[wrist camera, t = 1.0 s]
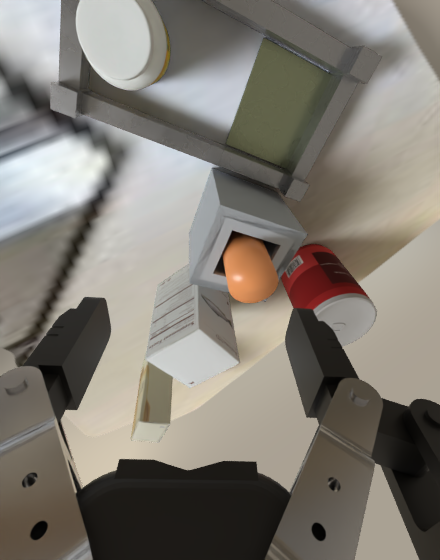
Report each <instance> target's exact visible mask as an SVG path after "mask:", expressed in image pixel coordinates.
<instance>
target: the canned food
mask: <svg viewBox="0 0 440 560" xmlns="http://www.w3.org/2000/svg"><path fill="white" fill-rule="evenodd" d="M281 279H282V282H283V285H284V287H285V289H286V292H287V294H288V296H289V299H290V301H291V303H292V306H293V308H305V309H312V310H313V311H314V313H315V315H316V317H317V319H318V321H324V322H325V323H326V324H328V325H329V326H330V327H331V328H332V329H333V331H334V332H335V334H336V336H337V338H338V341H339V342H340V344H341V346H345V345H347V344H350V343H352V342H354V341H356V340H357V339H359V338H360V337H362V336H363V335H364V334H365V333H367V332H368V331H369V329H370V328H371V327H372V326H373V324H374V322H375V319H376V315H377V311H376V308H375V306H374V304H373V302H372V301H371V300H370V298H369V297H368V296H367V294H366V293H365V292H364V290H363V289H362V288H361V287H360V285H359V284H358V283H357V282H356V280H355V279H354V278H353V277H352V275H351V274H350V273H349V272H348V270H347V269H346V268H345V267H344V265H343V264H342V263H341V262H340V260H339V259H338V258H337V257H336V255H335V254H334V253H333V252H332V251H331V250H330V249H328V248H326V247H324V246H322V245H317V244H310V245H305V246H303V247H300V248H299V249H298V251H297V252H296V254H295V255H294V257H293V259H292V260H291V262H290V263H289V265H288V267H287V268H286V270H285V271H284V273H283V275H282V276H281Z"/></svg>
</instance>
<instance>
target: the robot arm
mask: <svg viewBox="0 0 440 560" xmlns="http://www.w3.org/2000/svg"><path fill="white" fill-rule="evenodd" d="M110 334H111V324H110V319H109V313H108V308H107V303H106V300H105V298H95V297H85V298H83V300H82V301H81V303H80V304H79V306H78V307H77V308H76V309H69V310H68V311H66V312H65V313H64V314H62V315H61V316H59V318H58V319H57V320H56V322H55V323H54V324H53V326H52V328H50V330H49V331H48V332H47V334H46V336H44V338H43V339H42V341H41V342H40V343H39V345H38V346H37V347H36V349H35V350H34V351H33V353H32V354H31V355H30V357H29V358H28V359H27V361H26V362H25V363H24V365H23V366H22V367H18V368H15V369H12V370H10V371H8V372H6V373H4V374H3V375H1V376H0V560H354V559H355V555H356V550H357V546H358V541H359V536H360V532H361V527H362V523H363V518H364V514H365V509H366V504H367V500H368V495H369V490H370V486H371V482H372V477H373V472H374V467H375V463H376V464H379V465H381V467H382V470H383V472H384V475H385V477H386V479H387V482H388V484H389V487H390V489H391V492H392V494H393V496H394V499H395V501H396V504H397V506H398V509H399V511H400V514H401V516H402V518H403V521H404V523H405V526H406V528H407V531H408V533H409V535H410V538H411V540H412V543H413V545H414V548H415V550H416V553H417V555H418V557H419V560H440V405H439V404H437V403H435V402H432V401H430V400H426V399H416V400H414V401H413V402H412V403H411V404H410V406H409V407H408V406H405V405H401V404H398V403H395V402H392V401H389V400H386V399H383V398H381V397H380V395H379V393H378V392H377V391H376V390H375V389H374V388H373V387H372V386H371V385H369V384H368V383H366V382H364V381H362V380H360V379H359V378H358V376H357V374H356V372H355V370H354V368H353V367H352V365H351V363H350V361H349V359H348V357H347V355H346V353H345V351H344V349H342V346H341V344H340V342H339V341H338V338H337V336H336V334H335V332H334V331H333V329H332V328H331V327H330V326H329V325H328V324H326V323H325V322H324V321H318V319H317V317H316V315H315V313H314V311H313V310H312V309H305V308H294V309H293V311H292V314H291V317H290V321H289V325H288V328H287V332H286V337H285V343H286V349H287V353H288V356H289V360H290V363H291V366H292V369H293V373H294V376H295V379H296V383H297V387H298V390H299V393H300V397H301V400H302V404H303V407H304V410H305V414H306V417H310V418H317V420H318V423H319V426H318V429H317V431H316V433H315V435H314V438H313V440H312V442H311V444H310V447H309V449H308V451H307V454H306V456H305V458H304V460H303V463H302V465H301V467H300V470H299V472H298V474H297V476H296V478H295V481H294V483H293V485H292V487H291V489H290V492H288V491H287V490H286V489H285V488H284V487H282V486H281V485H280V484H279V483H277V482H276V481H274V480H272V479H271V478H269V477H267V476H265V475H263V474H260V473H258V472H257V464H256V462H244V461H240V462H239V461H222V462H218V463H215V464H211V465H208V466H204V467H200V468H197V469H193V470H184V469H181V468H177V467H174V466H171V465H168V464H165V463H162V462H159V461H156V460H137V459H136V460H135V459H134V460H133V459H120V460H119V463H118V467H117V470H116V471H113V472H110V473H108V474H105V475H102V476H101V477H99V478H97V479H95V480H93V481H92V482H90V483H89V484H88V485H86V486H85V487H83V486H82V483H81V480H80V477H79V474H78V472H77V469H76V466H75V463H74V459H73V456H72V453H71V450H70V447H69V444H68V440H67V438H66V434H65V431H64V427H63V424H62V421H61V418H62V416H63V414H64V412H65V410H77V409H78V407H79V405H80V403H81V400H82V398H83V396H84V394H85V392H86V389H87V387H88V385H89V383H90V381H91V378H92V376H93V374H94V372H95V370H96V367H97V365H98V363H99V361H100V359H101V356H102V354H103V352H104V350H105V348H106V345H107V343H108V341H109V338H110Z"/></svg>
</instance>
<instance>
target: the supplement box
mask: <svg viewBox="0 0 440 560" xmlns="http://www.w3.org/2000/svg"><path fill="white" fill-rule="evenodd" d="M145 359H146V361H148V362H149V363H151V364H153V365H154V366H156V367H157V368H159V369H161V370H162V371H164V372H165V373H167V374H168V375H170V376H172V377H173V378H175V379H177V380H178V381H180V382H181V383H183V384H184V385H186V386H187V387H189V388H191V387H193V386H196V385H198V384H200V383H202V382H204V381H206V380H208V379H210V378H212V377H214V376H216V375H218V374H220V373H222V372H224V371H225V370H227V369H229V368H231V367H233V366H235V365H237V364H239V363H240V360H239V355H238V349H237V343H236V337H235V331H234V325H233V319H232V313H231V307H230V301H229V295H228V293H227V292H223V291H219V290H215V289H211V288H207V287H203V286H198V285H194V284H190V283H189V264H188V265H187V266H185V267H184V268H182V269H181V270H179V271H178V272H176V273H175V274H173V275H172V276H170V277H169V278H167V279H166V280H165V281H163V282H162V283H160V284H159V285H158V286H157V291H156V297H155V302H154V309H153V315H152V321H151V327H150V333H149V339H148V346H147V351H146V356H145Z"/></svg>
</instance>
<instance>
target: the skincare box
mask: <svg viewBox="0 0 440 560" xmlns="http://www.w3.org/2000/svg"><path fill="white" fill-rule="evenodd" d="M172 379H173V377H172V376H170V375H168V374H167V373H165V372H164V371H162V370H161V369H159V368H157V367H156V366H154V365H153V364H151V363H149V362H148V361H146V359H144V362H143V366H142V370H141V376H140V383H139V390H138V396H137V403H136V409H135V415H134V422H133V428H132V434H131V440H132V441H147V442H160V440H161V439H162V437H163V435H164V434H165V432H166V430H167V428H168V427H169V425H170V415H171V397H172Z"/></svg>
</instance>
